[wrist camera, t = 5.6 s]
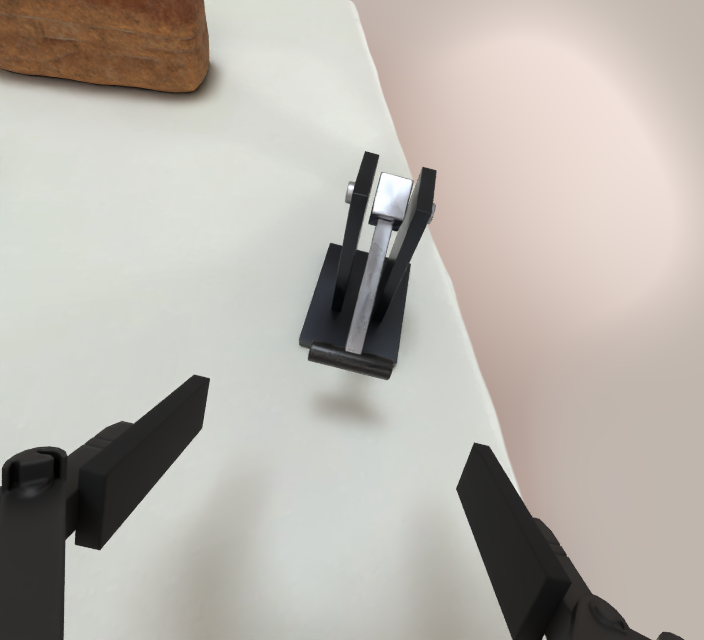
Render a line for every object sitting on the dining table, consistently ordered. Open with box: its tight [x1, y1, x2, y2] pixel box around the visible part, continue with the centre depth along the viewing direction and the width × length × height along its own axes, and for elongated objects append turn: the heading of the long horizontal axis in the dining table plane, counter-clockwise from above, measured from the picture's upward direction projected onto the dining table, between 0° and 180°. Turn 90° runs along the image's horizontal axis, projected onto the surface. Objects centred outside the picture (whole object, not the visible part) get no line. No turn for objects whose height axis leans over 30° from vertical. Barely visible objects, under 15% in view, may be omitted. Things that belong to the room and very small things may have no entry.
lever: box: [308, 172, 413, 380], centre depth 23 cm, size 13×6×2 cm, turn 168°
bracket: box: [299, 151, 436, 368], centre depth 28 cm, size 12×9×15 cm
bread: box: [0, 0, 209, 92], centre depth 42 cm, size 14×28×12 cm, turn 93°
